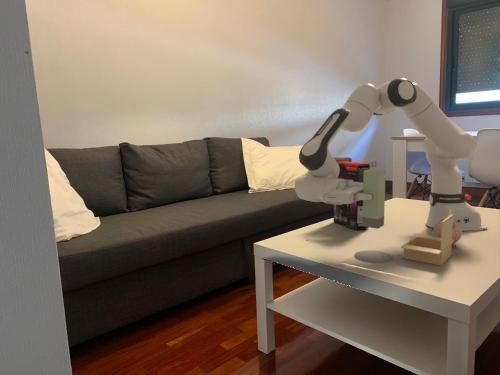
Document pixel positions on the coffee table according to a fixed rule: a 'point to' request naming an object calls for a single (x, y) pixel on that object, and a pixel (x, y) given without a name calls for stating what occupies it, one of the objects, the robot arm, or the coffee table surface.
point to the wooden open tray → (431, 245)
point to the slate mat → (373, 256)
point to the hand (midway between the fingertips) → (376, 195)
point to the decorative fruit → (455, 233)
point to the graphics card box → (353, 212)
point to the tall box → (374, 198)
